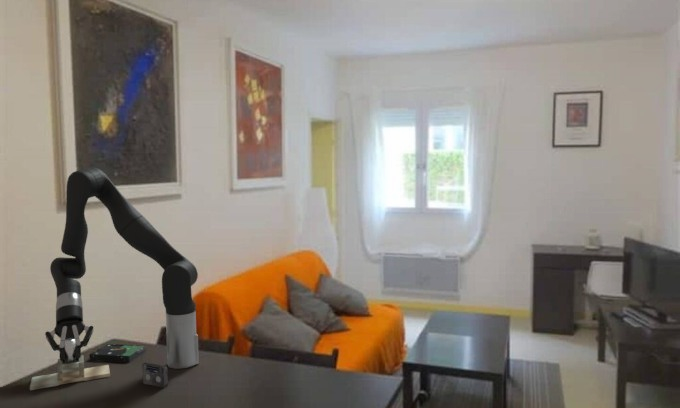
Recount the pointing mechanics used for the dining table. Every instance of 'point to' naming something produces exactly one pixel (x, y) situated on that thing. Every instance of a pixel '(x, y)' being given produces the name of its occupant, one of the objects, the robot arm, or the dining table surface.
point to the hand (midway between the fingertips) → (70, 359)
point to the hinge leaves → (70, 374)
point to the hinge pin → (70, 350)
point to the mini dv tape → (155, 375)
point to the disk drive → (117, 353)
